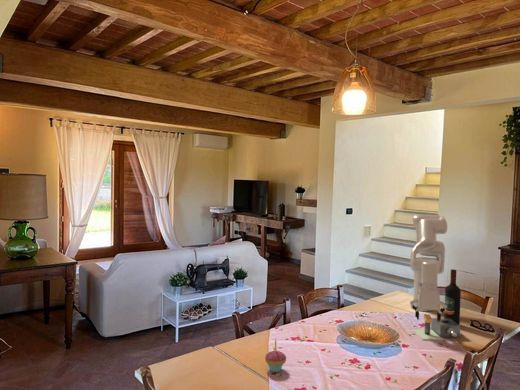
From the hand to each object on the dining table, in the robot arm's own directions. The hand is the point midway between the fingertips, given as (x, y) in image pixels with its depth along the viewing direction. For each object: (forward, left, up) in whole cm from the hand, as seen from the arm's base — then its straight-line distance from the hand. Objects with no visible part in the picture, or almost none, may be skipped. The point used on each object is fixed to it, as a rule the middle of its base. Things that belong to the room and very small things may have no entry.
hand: (427, 319), depth 193 cm
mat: (0, 0, -8) cm, 8 cm away
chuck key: (0, 0, -7) cm, 7 cm away
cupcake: (+38, -78, -8) cm, 88 cm away
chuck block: (-1, +11, -8) cm, 13 cm away
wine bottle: (-16, +21, -8) cm, 27 cm away
